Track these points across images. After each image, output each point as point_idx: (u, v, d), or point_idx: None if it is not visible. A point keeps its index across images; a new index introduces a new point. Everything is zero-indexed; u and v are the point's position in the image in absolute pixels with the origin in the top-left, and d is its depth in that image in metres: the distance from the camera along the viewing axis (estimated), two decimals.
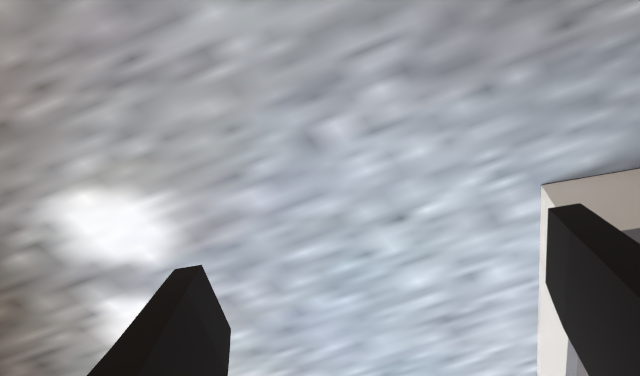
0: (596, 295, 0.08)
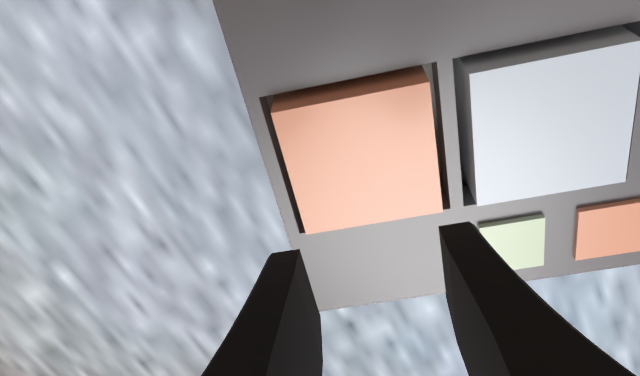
0: (467, 314, 0.09)
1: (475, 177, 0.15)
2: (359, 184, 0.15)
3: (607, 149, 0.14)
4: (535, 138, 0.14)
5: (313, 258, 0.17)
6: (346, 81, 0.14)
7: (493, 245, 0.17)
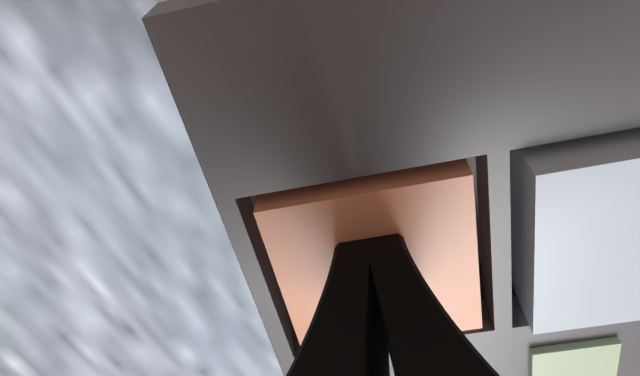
0: (384, 325, 0.09)
1: (533, 301, 0.11)
2: None
3: None
4: (622, 255, 0.10)
5: None
6: None
7: (549, 374, 0.13)
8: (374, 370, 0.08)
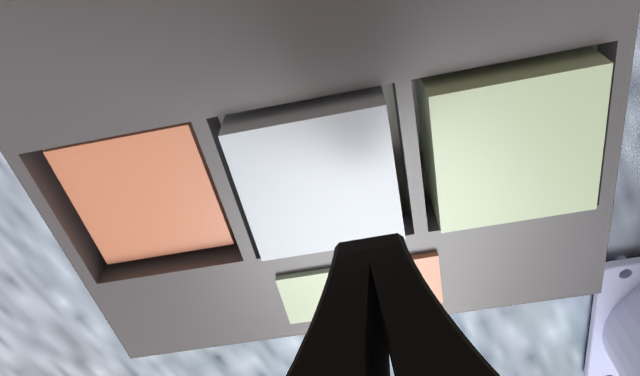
0: (384, 325, 0.09)
1: (253, 233, 0.15)
2: (146, 217, 0.15)
3: (378, 208, 0.14)
4: (302, 197, 0.14)
5: (117, 307, 0.17)
6: None
7: (293, 296, 0.16)
8: (374, 370, 0.08)
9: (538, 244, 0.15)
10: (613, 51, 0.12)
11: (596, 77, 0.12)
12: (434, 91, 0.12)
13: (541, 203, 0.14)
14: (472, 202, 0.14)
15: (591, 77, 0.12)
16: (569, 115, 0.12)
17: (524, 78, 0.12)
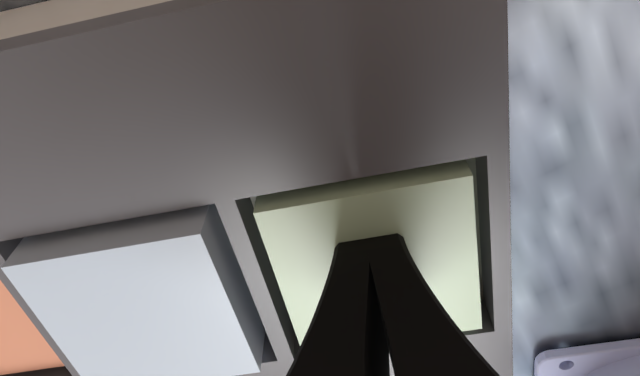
0: (384, 325, 0.09)
1: (76, 366, 0.12)
2: None
3: (219, 342, 0.12)
4: (123, 330, 0.11)
5: None
6: None
7: None
8: (374, 370, 0.08)
9: None
10: (485, 165, 0.10)
11: (455, 191, 0.10)
12: (264, 204, 0.10)
13: None
14: None
15: (449, 191, 0.10)
16: (429, 231, 0.10)
17: (367, 192, 0.10)
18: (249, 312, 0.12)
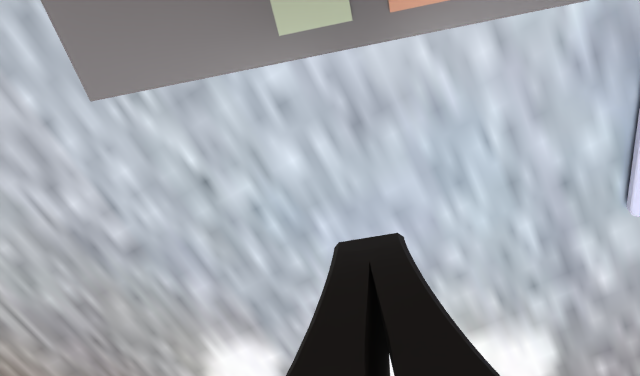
0: (384, 325, 0.09)
1: None
2: None
3: None
4: None
5: (69, 12, 0.14)
6: None
7: None
8: (374, 370, 0.08)
9: None
10: None
11: None
12: None
13: None
14: None
15: None
16: None
17: None
18: None
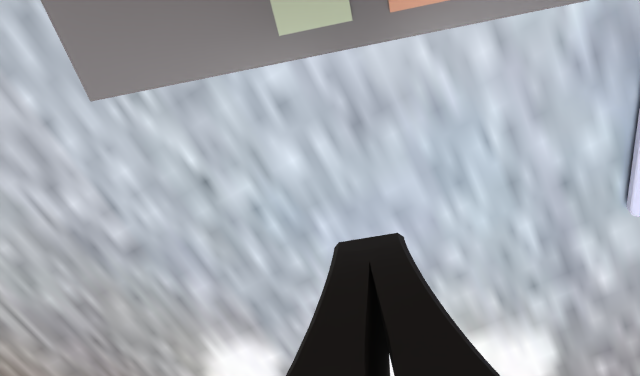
0: (384, 325, 0.09)
1: None
2: None
3: None
4: None
5: (69, 12, 0.14)
6: None
7: None
8: (374, 370, 0.08)
9: None
10: None
11: None
12: None
13: None
14: None
15: None
16: None
17: None
18: None
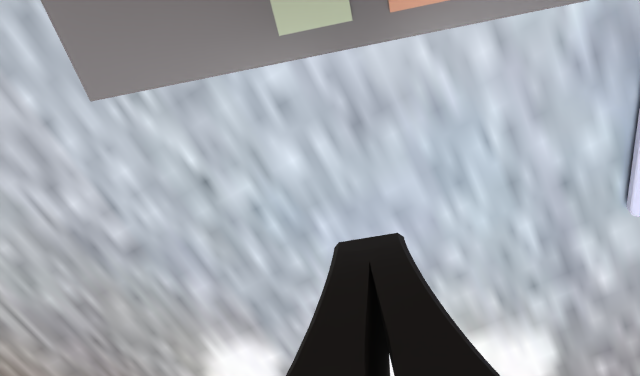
0: (384, 325, 0.09)
1: None
2: None
3: None
4: None
5: (69, 12, 0.14)
6: None
7: None
8: (374, 370, 0.08)
9: None
10: None
11: None
12: None
13: None
14: None
15: None
16: None
17: None
18: None
